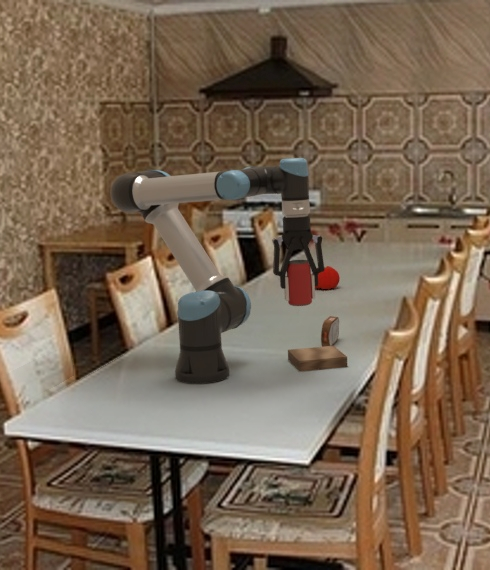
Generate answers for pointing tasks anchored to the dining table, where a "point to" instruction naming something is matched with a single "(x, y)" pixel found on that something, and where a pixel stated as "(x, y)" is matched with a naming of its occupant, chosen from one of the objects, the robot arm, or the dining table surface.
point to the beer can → (299, 283)
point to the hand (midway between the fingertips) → (299, 298)
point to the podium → (317, 358)
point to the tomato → (328, 278)
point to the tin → (330, 331)
